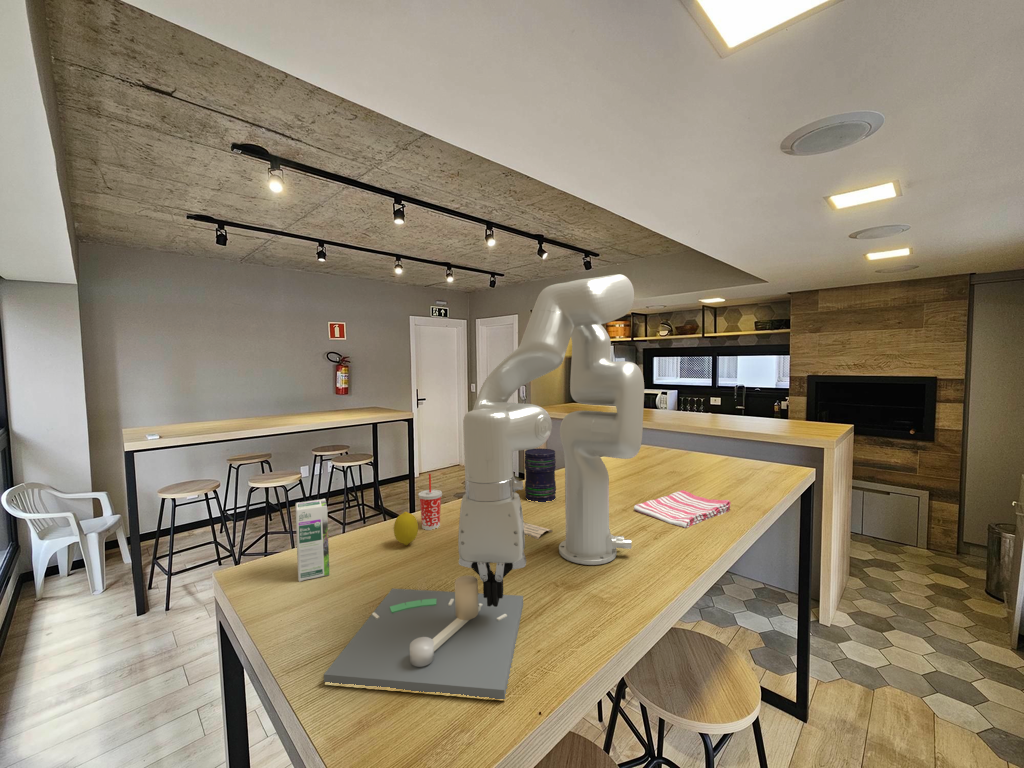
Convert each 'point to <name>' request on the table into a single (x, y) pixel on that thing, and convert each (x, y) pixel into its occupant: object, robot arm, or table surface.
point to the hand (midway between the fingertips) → (493, 601)
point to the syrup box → (312, 539)
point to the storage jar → (540, 475)
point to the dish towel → (683, 508)
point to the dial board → (457, 662)
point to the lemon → (405, 528)
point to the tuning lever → (464, 612)
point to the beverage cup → (430, 507)
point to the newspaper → (534, 530)
